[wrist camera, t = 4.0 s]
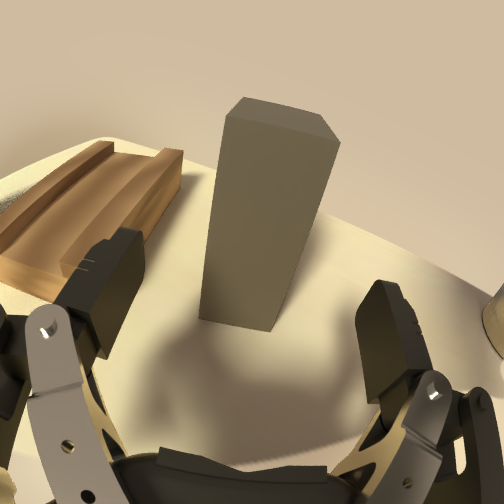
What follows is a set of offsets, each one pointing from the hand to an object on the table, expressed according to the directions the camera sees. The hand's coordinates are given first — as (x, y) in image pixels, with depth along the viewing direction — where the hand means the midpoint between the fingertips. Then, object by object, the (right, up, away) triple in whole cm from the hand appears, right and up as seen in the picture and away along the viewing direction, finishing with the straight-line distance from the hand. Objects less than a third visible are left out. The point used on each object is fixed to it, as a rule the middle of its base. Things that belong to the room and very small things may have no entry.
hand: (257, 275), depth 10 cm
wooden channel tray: (-13, +3, +13) cm, 19 cm away
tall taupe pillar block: (-1, -2, +10) cm, 11 cm away
